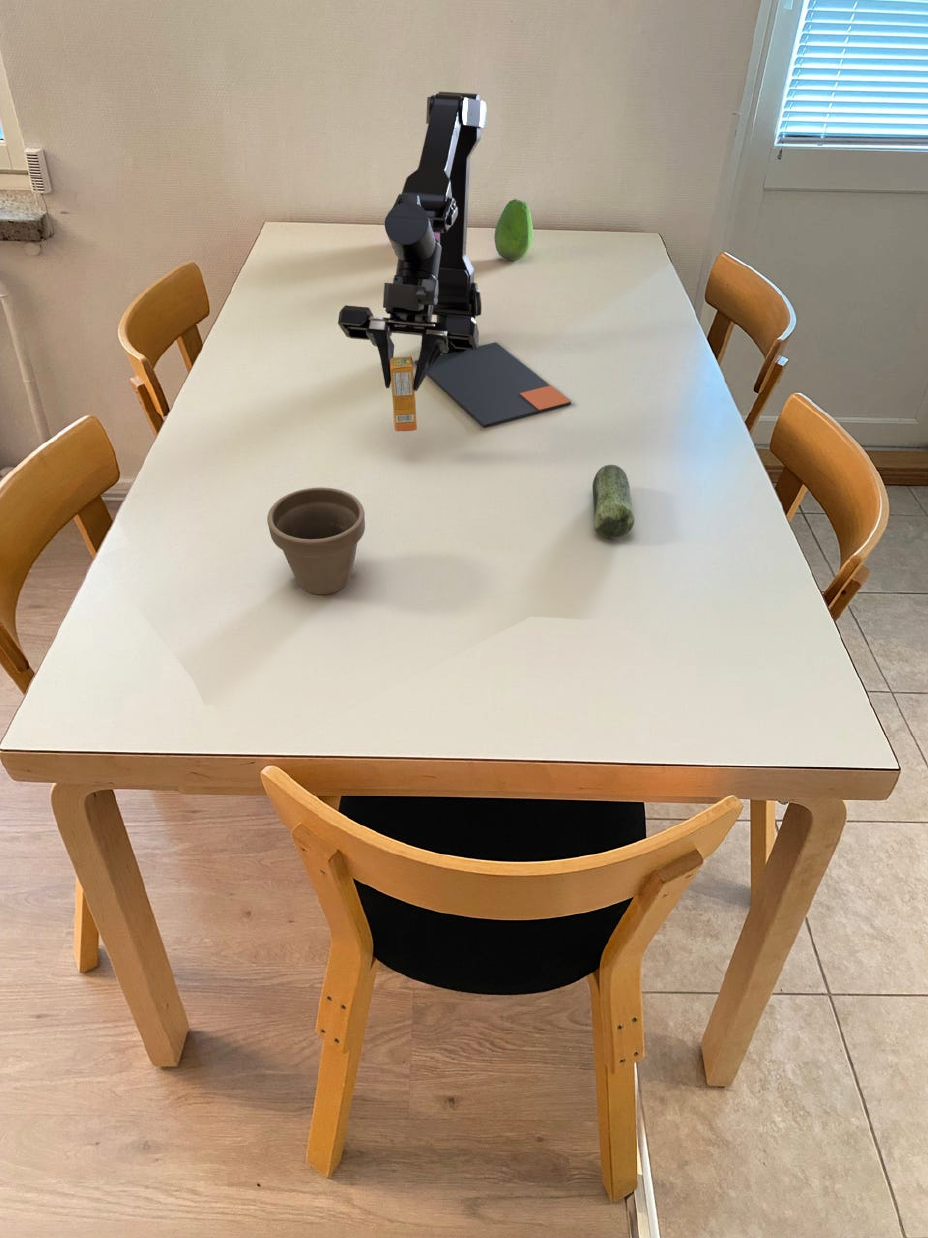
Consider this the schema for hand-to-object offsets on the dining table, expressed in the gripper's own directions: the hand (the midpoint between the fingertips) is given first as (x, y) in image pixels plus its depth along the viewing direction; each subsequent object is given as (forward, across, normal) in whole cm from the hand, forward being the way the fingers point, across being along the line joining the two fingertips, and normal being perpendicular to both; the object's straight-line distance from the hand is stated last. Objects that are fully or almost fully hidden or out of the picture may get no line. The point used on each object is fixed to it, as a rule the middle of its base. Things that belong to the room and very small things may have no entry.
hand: (400, 388), depth 132 cm
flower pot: (+28, -4, -11) cm, 30 cm away
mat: (-10, +9, +28) cm, 31 cm away
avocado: (-48, +5, +67) cm, 83 cm away
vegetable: (+13, +30, +4) cm, 33 cm away
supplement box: (+4, 0, +6) cm, 7 cm away
